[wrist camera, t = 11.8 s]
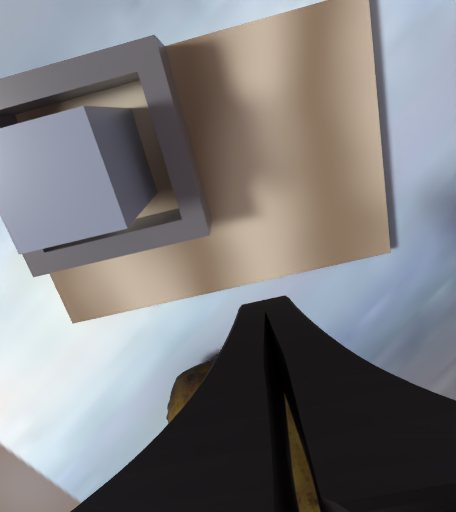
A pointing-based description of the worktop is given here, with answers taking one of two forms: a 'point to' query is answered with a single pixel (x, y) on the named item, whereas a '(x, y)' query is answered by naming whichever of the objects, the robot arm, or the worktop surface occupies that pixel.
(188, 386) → the potato
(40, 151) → the plug
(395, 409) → the robot arm
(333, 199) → the board
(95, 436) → the worktop surface
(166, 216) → the frame
